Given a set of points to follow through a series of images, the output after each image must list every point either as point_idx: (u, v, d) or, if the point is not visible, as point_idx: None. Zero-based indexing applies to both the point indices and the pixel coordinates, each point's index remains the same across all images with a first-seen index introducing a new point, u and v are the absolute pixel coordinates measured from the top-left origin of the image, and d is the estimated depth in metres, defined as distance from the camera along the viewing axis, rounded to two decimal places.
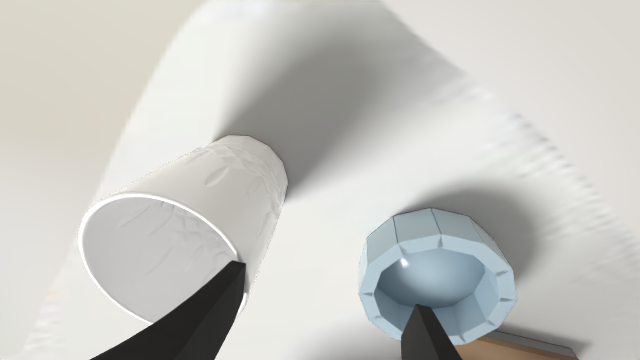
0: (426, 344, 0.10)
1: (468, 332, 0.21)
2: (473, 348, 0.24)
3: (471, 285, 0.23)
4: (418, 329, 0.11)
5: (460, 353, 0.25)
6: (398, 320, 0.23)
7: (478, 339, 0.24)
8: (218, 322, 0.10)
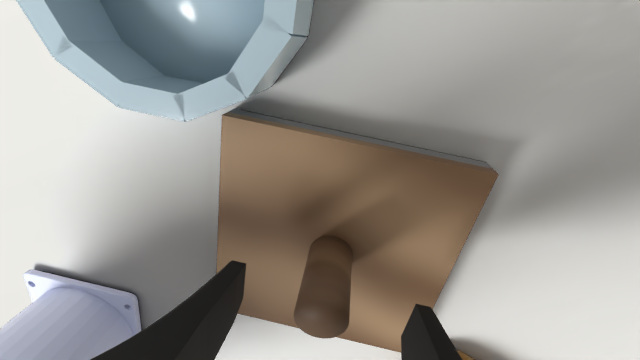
0: (426, 344, 0.10)
1: (239, 61, 0.10)
2: (302, 155, 0.13)
3: None
4: (418, 329, 0.11)
5: (284, 170, 0.14)
6: (132, 75, 0.12)
7: (306, 132, 0.13)
8: (218, 322, 0.10)
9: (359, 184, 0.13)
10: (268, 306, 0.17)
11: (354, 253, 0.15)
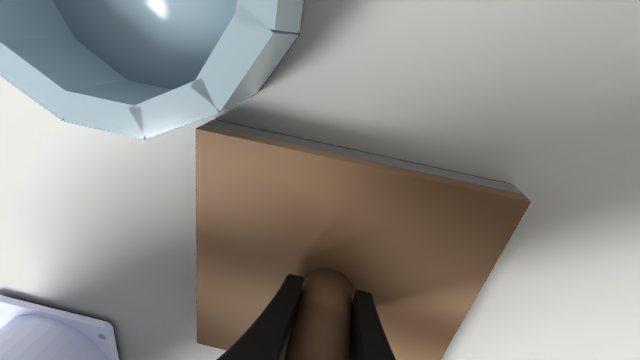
0: (357, 327, 0.10)
1: (208, 65, 0.08)
2: (292, 176, 0.11)
3: None
4: (354, 314, 0.11)
5: (271, 194, 0.11)
6: (82, 81, 0.09)
7: (297, 150, 0.11)
8: (285, 339, 0.10)
9: (361, 211, 0.11)
10: None
11: (355, 288, 0.13)
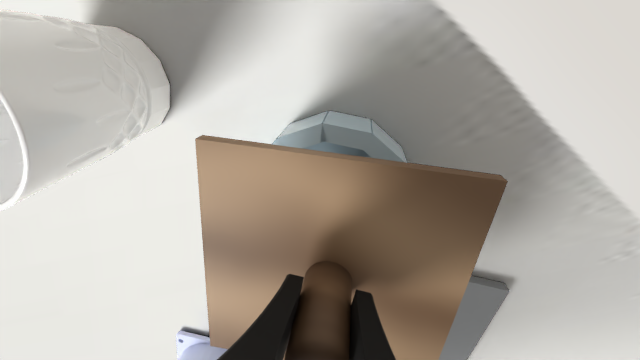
0: (357, 327, 0.10)
1: None
2: (285, 175, 0.12)
3: None
4: (354, 314, 0.11)
5: (268, 194, 0.12)
6: None
7: (288, 151, 0.12)
8: (285, 339, 0.10)
9: (352, 203, 0.12)
10: None
11: (354, 278, 0.14)
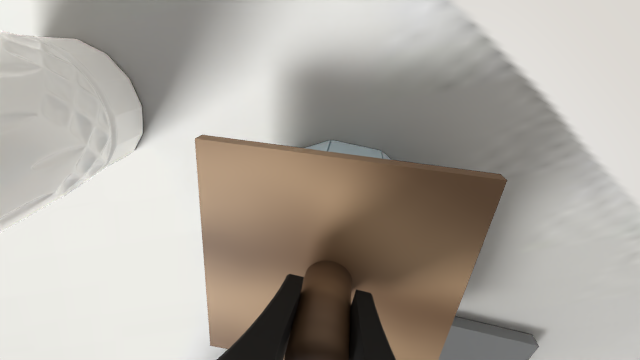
0: (357, 327, 0.10)
1: None
2: (285, 175, 0.12)
3: None
4: (354, 314, 0.11)
5: (267, 193, 0.12)
6: None
7: (287, 150, 0.12)
8: (285, 339, 0.10)
9: (351, 203, 0.12)
10: None
11: (354, 278, 0.14)
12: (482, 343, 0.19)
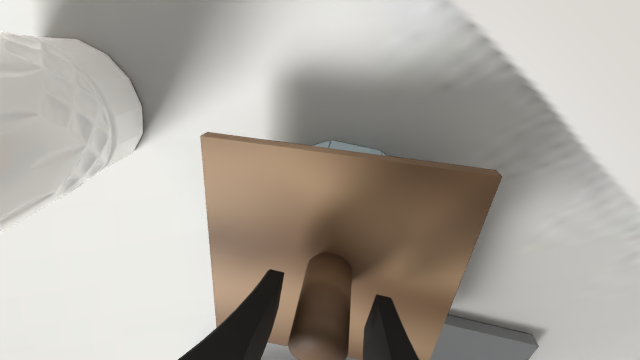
0: (380, 333, 0.10)
1: None
2: (288, 171, 0.12)
3: None
4: (376, 319, 0.11)
5: (271, 188, 0.13)
6: None
7: (290, 147, 0.12)
8: (262, 333, 0.10)
9: (351, 198, 0.13)
10: None
11: (354, 269, 0.14)
12: (482, 343, 0.19)
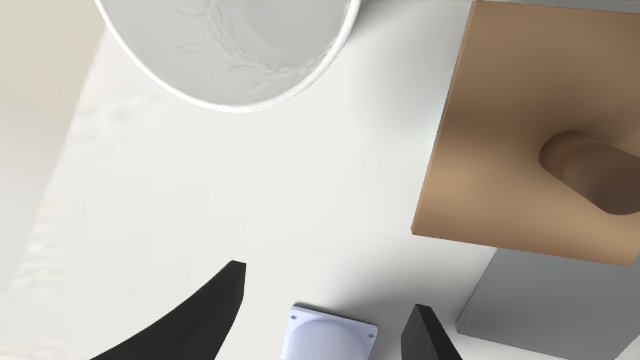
0: (426, 344, 0.10)
1: None
2: (560, 36, 0.13)
3: None
4: (418, 329, 0.11)
5: (533, 58, 0.13)
6: None
7: (570, 8, 0.12)
8: (218, 322, 0.10)
9: (620, 63, 0.13)
10: (474, 226, 0.17)
11: None
12: None
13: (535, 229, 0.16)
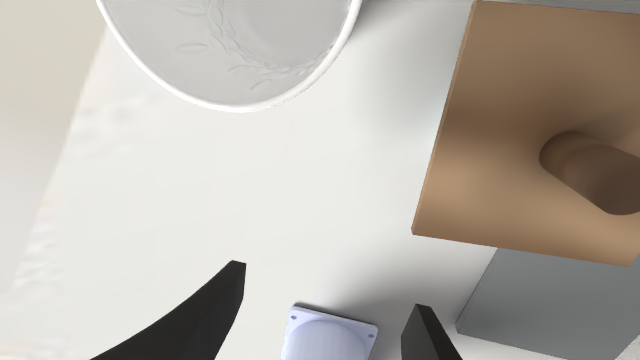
0: (426, 344, 0.10)
1: None
2: (560, 36, 0.13)
3: None
4: (418, 329, 0.11)
5: (534, 58, 0.13)
6: None
7: (570, 8, 0.12)
8: (218, 322, 0.10)
9: (620, 64, 0.13)
10: (475, 226, 0.17)
11: None
12: None
13: (535, 229, 0.16)
